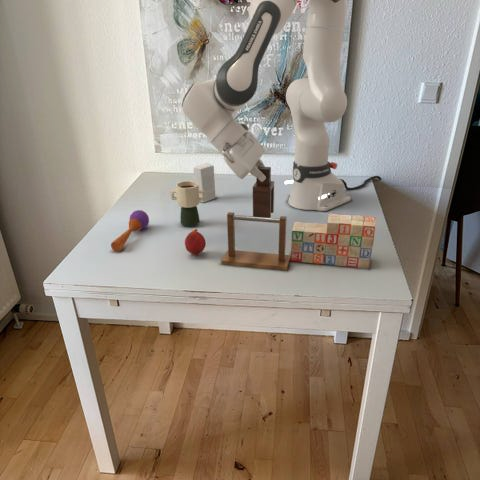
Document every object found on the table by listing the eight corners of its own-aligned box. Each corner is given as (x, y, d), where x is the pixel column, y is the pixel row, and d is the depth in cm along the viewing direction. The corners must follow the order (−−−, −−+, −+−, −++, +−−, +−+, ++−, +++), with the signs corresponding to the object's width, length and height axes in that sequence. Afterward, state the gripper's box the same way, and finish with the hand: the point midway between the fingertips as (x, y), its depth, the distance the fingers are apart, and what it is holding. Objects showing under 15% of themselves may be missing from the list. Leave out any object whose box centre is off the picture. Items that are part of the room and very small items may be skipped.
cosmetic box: (208, 195, 179) (206, 162, 172) (215, 198, 176) (214, 165, 170) (195, 200, 175) (193, 166, 169) (203, 203, 173) (201, 169, 166)
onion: (198, 261, 135) (196, 235, 131) (181, 256, 138) (179, 230, 133) (210, 253, 139) (208, 227, 135) (194, 249, 142) (192, 223, 137)
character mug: (208, 220, 160) (206, 181, 153) (205, 228, 154) (202, 188, 147) (176, 219, 161) (172, 180, 154) (171, 228, 155) (167, 187, 148)
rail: (221, 264, 134) (219, 217, 126) (228, 253, 139) (226, 208, 132) (286, 270, 130) (288, 223, 122) (290, 259, 136) (292, 213, 128)
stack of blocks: (289, 261, 134) (291, 219, 127) (293, 251, 139) (295, 210, 132) (369, 269, 130) (376, 225, 123) (369, 258, 135) (376, 216, 128)
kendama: (103, 238, 140) (131, 208, 155) (111, 256, 143) (137, 225, 158) (121, 236, 138) (148, 206, 153) (128, 254, 141) (154, 223, 156)
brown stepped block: (257, 210, 143) (256, 164, 136) (273, 211, 142) (274, 165, 135) (252, 217, 139) (252, 170, 131) (270, 219, 138) (270, 171, 130)
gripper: (228, 141, 121) (266, 182, 124) (246, 122, 137) (280, 159, 141) (211, 158, 124) (249, 197, 128) (232, 138, 141) (265, 173, 144)
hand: (265, 177), depth 134 cm, fingers closed on brown stepped block, 2 cm apart
